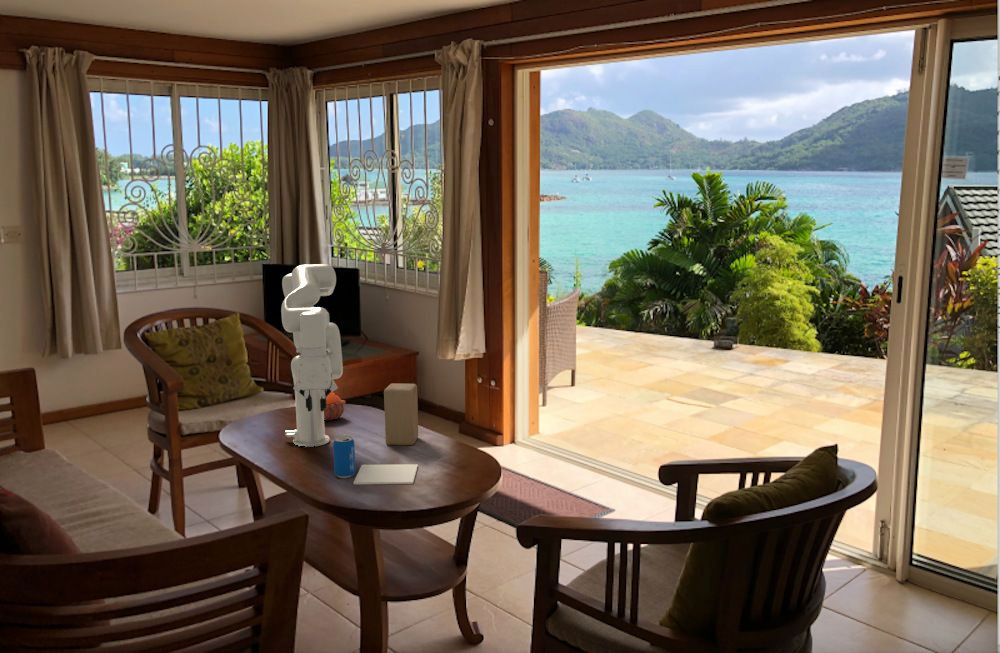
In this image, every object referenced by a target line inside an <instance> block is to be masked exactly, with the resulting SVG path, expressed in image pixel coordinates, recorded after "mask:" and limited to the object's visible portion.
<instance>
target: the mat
mask: <svg viewBox="0 0 1000 653" xmlns="http://www.w3.org/2000/svg"><path fill="white" fill-rule="evenodd" d="M417 467H419V464H418V463H417V464H414V463H413V464H400V463H399V464H361V466H360V468H359V470H358V472H357V474H356V476H355V479H354V481H353V485H414V482H415V477H416V474H417V471H418V468H417Z"/></svg>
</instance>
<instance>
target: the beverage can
mask: <svg viewBox="0 0 1000 653" xmlns="http://www.w3.org/2000/svg"><path fill="white" fill-rule="evenodd" d="M353 438H354V437H353V436H351V435H340V436H336V437H334V439H333V442H332V447H333V471H334V476H336V477H338V478H340V479H347V478H348V477H349V478H352V477H353V476H354V475H355V474H356V454H355V453H356V450H355V449H356V448H355V440H354V439H353ZM351 476H352V477H351ZM349 478H348V479H349Z"/></svg>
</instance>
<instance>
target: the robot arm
mask: <svg viewBox="0 0 1000 653" xmlns="http://www.w3.org/2000/svg"><path fill="white" fill-rule="evenodd" d="M281 281H282V282H281V285H282V291H283V292H282V293H283V295H284V300H282V304H281V307H280V308H281V310H280V312H281V323H282V327H283V329H284V330H285V331H286V332H287V333H292V334H293V335H292V336H293V338H292V339H293V344H294V346H295V348H296V350H295V351H296V353H298V354H299V355H296V356H294V357H293V358H292V360H291V361H290V362H291V363H290V370H291V374H292V379H293V388H292V389H293V390H294V396H295V401H294V402H295V414H296V415H295V416H296V418H295V419H296V420H295V421H296V429H294V430H285V432H284V436H286V437H287V438H293V440H292V443H294V444H295V445H294V444H293V445H294V446H296V445H298V446H297V447H300V446H305V447H304V448H314V446H315V447H320V446H323V445H326V444H328V443H329V442H330V436H329V435H327V434H326V428H325V427H326V426H325V421H324V409H325V408H326V406H327V405H326V397H327V396H328V395H329V394H330V393H331V392H333V393H334V392H335V391H336V390H338V385H337V383H336V382H335V381H334V380H338V379H340V378H341V377H342V375H343V372H344V366H343V365H344V364H343V353H342V343H341V342H342V341H341V340H342V339H341V333H340V329H339V327H338V325H337V324H336V323H334V322H330V313H329V311H328V310H327V309H326V308H324V307H320V306H317V307H316V306H314V305H316V304H317V303H318V302H319V301H320V299H321V297H327V296H330V295H332V294H333V293H334V290H335V287H336V284H337V275H336V271H335V269H334V268H333V266H332V265H330V264H327V263H319V264H318V263H317V264H300V265H297V266H296V267H295V268H293V270H292V272H291V273H288V274H286V275H284V276H283V277H282V280H281Z"/></svg>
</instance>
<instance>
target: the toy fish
mask: <svg viewBox="0 0 1000 653" xmlns="http://www.w3.org/2000/svg"><path fill="white" fill-rule="evenodd" d="M345 404H346V400H344V399H343V400H342V399H341V398H340V396H338V395H337V393H335V392H334V391H333V392H331V393H330V394H329V395H328V396H327V397H326V405H327V406H326V408H325V409H324V420H326V421H334V420H333V419H335V420H337V419H338V418H341V417H342V415H343V414H344V412H345V406H346V405H345Z"/></svg>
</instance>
